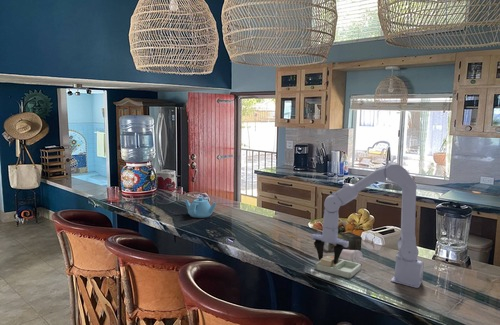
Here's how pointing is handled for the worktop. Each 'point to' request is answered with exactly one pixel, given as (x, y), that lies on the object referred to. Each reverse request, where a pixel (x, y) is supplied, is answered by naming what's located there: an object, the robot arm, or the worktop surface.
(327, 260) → the maple block
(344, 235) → the juice carton
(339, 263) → the tray
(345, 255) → the smoothie
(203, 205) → the teapot
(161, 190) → the worktop surface
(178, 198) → the worktop surface
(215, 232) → the worktop surface
